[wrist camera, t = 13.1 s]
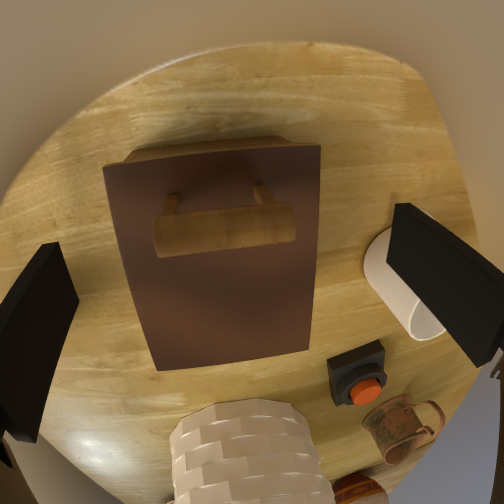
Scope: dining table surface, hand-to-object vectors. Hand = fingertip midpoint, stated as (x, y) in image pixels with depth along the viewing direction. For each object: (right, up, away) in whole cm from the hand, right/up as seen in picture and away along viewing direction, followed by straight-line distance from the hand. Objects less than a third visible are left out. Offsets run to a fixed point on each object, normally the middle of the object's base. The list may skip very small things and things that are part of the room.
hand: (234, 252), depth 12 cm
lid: (-1, -1, +10) cm, 10 cm away
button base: (+16, -18, +33) cm, 40 cm away
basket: (-1, -32, +37) cm, 49 cm away
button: (+17, -19, +30) cm, 39 cm away
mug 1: (+16, +1, +23) cm, 28 cm away
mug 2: (+29, -30, +42) cm, 59 cm away
